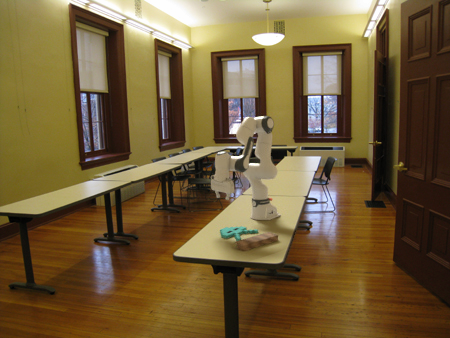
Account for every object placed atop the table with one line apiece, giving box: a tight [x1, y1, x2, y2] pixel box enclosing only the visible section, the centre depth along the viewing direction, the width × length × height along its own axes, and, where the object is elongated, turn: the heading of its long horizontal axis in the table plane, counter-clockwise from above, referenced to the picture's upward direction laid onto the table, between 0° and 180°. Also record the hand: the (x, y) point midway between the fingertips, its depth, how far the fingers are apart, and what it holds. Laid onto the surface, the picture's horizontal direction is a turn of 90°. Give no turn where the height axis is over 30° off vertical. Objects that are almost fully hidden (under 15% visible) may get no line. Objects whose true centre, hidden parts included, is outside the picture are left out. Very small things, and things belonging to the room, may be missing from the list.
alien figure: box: [219, 226, 259, 242], centre depth 226 cm, size 20×2×20 cm
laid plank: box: [234, 231, 279, 252], centre depth 207 cm, size 26×8×3 cm, turn 127°
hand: (222, 198), depth 233 cm, fingers open, 8 cm apart
